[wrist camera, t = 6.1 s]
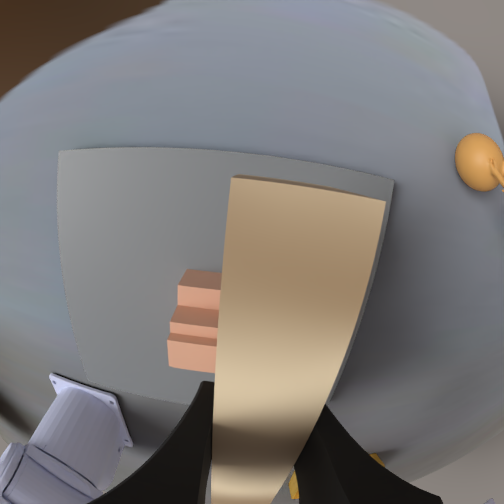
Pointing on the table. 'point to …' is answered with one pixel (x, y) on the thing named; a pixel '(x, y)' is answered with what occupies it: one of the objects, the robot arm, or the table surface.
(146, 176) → the board
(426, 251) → the table surface
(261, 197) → the pine batten
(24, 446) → the robot arm
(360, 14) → the table surface
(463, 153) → the figurine
